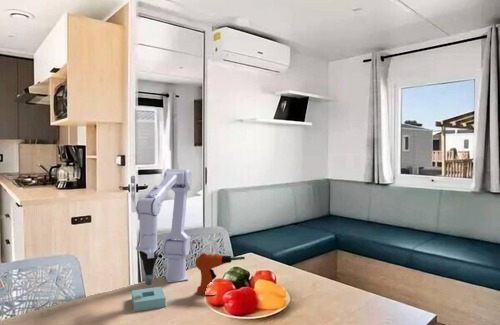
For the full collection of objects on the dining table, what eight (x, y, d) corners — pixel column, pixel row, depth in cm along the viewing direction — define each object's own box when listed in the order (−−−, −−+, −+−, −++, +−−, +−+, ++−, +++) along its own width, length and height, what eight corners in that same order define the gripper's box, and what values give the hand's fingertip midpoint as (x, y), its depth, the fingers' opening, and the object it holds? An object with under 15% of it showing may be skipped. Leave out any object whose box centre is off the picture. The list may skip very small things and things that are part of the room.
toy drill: (248, 293, 125) (243, 251, 124) (196, 297, 126) (191, 256, 126) (249, 288, 130) (244, 247, 129) (199, 292, 131) (194, 252, 131)
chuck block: (131, 298, 122) (131, 290, 122) (161, 294, 126) (161, 286, 126) (133, 311, 113) (133, 302, 113) (165, 306, 117) (165, 297, 117)
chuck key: (144, 283, 120) (145, 254, 120) (152, 282, 121) (153, 253, 121) (145, 285, 118) (146, 256, 117) (153, 284, 119) (154, 255, 119)
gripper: (134, 229, 124) (134, 267, 124) (137, 239, 110) (137, 282, 111) (154, 228, 127) (154, 265, 127) (160, 237, 113) (160, 279, 114)
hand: (148, 273), depth 119 cm, fingers closed on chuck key, 3 cm apart
